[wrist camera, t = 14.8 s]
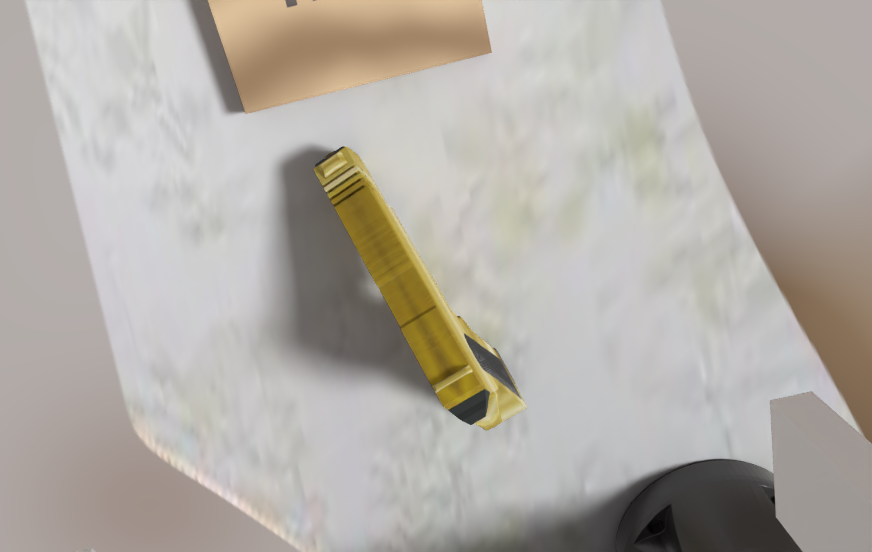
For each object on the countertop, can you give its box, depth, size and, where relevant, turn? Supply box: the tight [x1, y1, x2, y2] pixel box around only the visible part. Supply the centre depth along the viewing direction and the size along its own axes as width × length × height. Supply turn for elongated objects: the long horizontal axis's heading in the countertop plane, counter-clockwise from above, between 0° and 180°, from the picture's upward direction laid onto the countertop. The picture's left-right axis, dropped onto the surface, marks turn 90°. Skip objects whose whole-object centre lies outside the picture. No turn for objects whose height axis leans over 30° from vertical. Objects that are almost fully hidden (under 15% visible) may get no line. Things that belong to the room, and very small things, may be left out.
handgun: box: [313, 147, 527, 430], centre depth 41 cm, size 2×19×12 cm
